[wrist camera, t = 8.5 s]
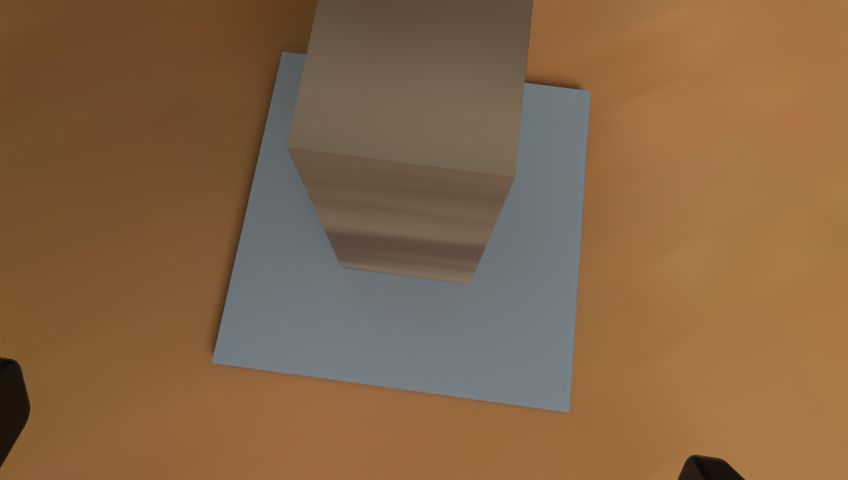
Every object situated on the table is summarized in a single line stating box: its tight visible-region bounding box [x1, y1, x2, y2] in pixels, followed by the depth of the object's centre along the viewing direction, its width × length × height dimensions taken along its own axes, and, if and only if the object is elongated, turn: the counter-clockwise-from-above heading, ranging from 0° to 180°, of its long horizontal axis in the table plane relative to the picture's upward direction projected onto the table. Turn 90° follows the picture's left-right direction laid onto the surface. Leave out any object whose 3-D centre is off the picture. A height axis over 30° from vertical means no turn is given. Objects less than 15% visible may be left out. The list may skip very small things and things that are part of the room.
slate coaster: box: [212, 52, 591, 413], centre depth 23 cm, size 12×12×1 cm
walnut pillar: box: [287, 0, 533, 285], centre depth 18 cm, size 4×4×10 cm
